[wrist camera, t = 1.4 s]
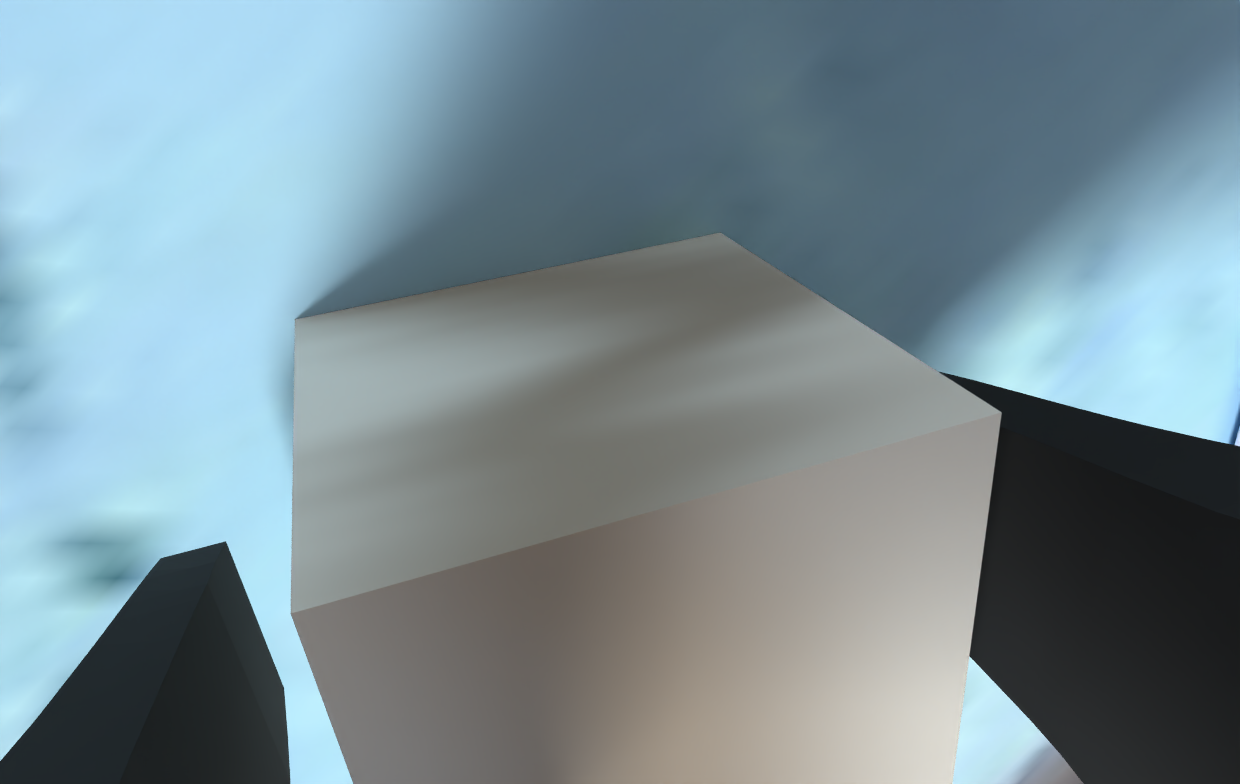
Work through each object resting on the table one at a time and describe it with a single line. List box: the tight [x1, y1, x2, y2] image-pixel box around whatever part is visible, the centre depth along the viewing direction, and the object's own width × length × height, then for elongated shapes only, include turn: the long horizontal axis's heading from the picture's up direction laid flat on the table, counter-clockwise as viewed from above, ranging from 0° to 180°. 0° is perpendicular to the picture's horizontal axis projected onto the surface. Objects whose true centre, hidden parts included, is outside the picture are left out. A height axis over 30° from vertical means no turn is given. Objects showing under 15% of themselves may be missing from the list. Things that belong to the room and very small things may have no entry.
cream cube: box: [291, 233, 1002, 784], centre depth 9 cm, size 5×5×5 cm
